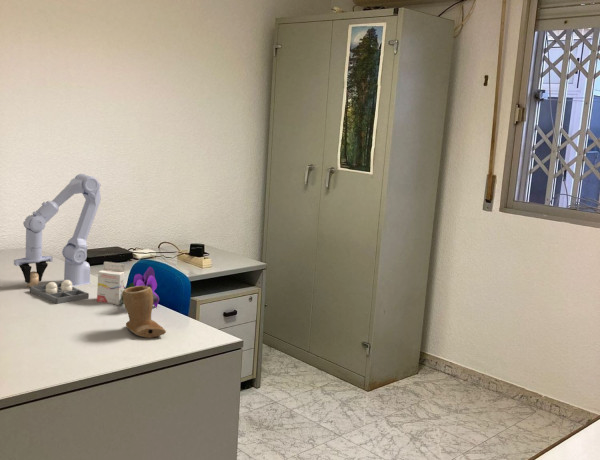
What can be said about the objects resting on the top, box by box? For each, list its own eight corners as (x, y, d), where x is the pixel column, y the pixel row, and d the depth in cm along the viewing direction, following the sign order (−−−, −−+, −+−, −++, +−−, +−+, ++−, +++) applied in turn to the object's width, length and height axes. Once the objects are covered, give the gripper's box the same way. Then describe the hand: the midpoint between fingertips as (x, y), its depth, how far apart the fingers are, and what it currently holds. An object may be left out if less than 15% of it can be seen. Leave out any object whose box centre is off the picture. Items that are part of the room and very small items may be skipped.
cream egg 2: (68, 292, 248) (68, 278, 247) (74, 294, 246) (74, 280, 245) (58, 293, 245) (59, 279, 244) (64, 296, 242) (64, 281, 242)
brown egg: (35, 283, 253) (35, 269, 252) (40, 285, 250) (41, 271, 249) (25, 284, 250) (25, 270, 249) (30, 287, 247) (31, 273, 246)
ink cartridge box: (96, 302, 240) (97, 263, 237) (101, 299, 244) (103, 261, 242) (118, 305, 239) (120, 266, 236) (123, 302, 244) (125, 263, 241)
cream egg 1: (53, 294, 243) (53, 280, 242) (59, 296, 241) (59, 282, 240) (43, 295, 240) (43, 281, 239) (49, 298, 238) (49, 283, 237)
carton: (61, 288, 254) (61, 282, 253) (88, 299, 242) (88, 293, 242) (29, 293, 244) (29, 286, 244) (56, 305, 232) (56, 298, 232)
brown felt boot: (116, 326, 216) (118, 282, 213) (151, 323, 222) (153, 280, 220) (129, 341, 203) (131, 295, 201) (166, 338, 209) (169, 292, 207)
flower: (117, 323, 234) (146, 312, 230) (102, 284, 234) (131, 272, 230) (139, 313, 248) (168, 303, 243) (125, 276, 248) (153, 265, 243)
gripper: (46, 243, 256) (45, 276, 258) (9, 246, 244) (9, 281, 247) (55, 246, 251) (55, 280, 253) (19, 250, 240) (18, 286, 242)
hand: (33, 281), depth 250 cm, fingers closed on brown egg, 4 cm apart
